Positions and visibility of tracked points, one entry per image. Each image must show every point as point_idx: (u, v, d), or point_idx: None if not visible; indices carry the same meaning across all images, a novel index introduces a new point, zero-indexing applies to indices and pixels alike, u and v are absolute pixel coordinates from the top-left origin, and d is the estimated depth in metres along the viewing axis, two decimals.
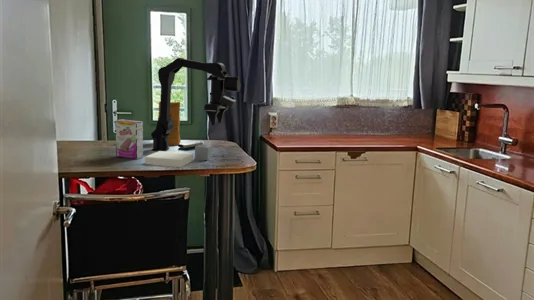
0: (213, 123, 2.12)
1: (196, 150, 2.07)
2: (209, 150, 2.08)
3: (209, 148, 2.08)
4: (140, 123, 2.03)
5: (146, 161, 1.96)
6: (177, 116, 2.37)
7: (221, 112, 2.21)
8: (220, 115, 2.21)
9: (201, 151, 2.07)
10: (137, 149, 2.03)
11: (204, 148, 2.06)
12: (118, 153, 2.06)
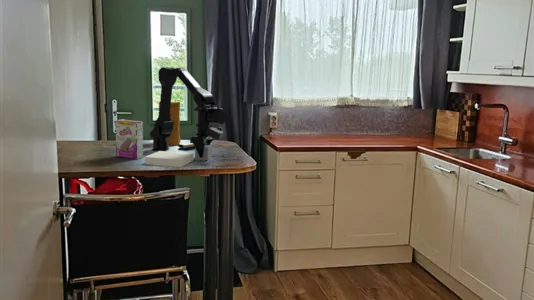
0: (201, 155, 2.07)
1: (196, 150, 2.07)
2: (209, 150, 2.08)
3: (209, 148, 2.08)
4: (140, 123, 2.03)
5: (146, 161, 1.96)
6: (177, 116, 2.37)
7: (207, 144, 2.13)
8: None
9: None
10: (137, 149, 2.03)
11: (204, 148, 2.06)
12: (118, 153, 2.06)
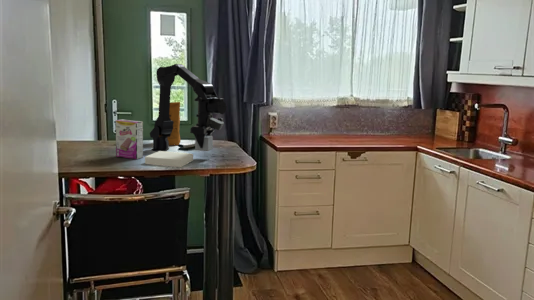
0: (201, 145, 2.06)
1: (196, 140, 2.06)
2: (209, 140, 2.07)
3: (209, 138, 2.07)
4: (140, 123, 2.03)
5: (146, 161, 1.96)
6: (177, 116, 2.37)
7: (208, 134, 2.12)
8: None
9: None
10: (137, 149, 2.03)
11: (204, 138, 2.05)
12: (118, 153, 2.06)
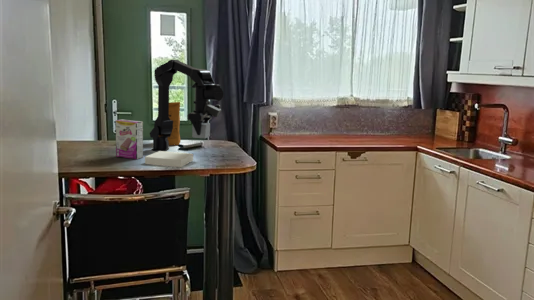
0: (198, 132, 2.04)
1: (193, 127, 2.05)
2: (207, 127, 2.06)
3: (207, 125, 2.05)
4: (140, 123, 2.03)
5: (146, 161, 1.96)
6: (177, 116, 2.37)
7: (205, 122, 2.10)
8: None
9: None
10: (137, 149, 2.03)
11: (202, 125, 2.04)
12: (118, 153, 2.06)
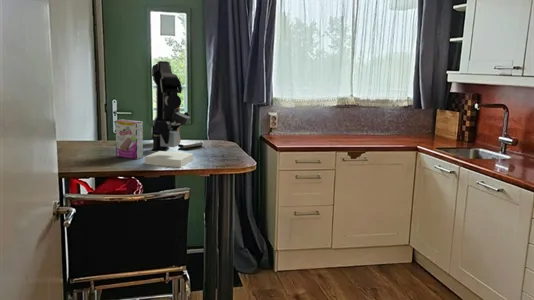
0: (166, 141, 1.96)
1: (161, 136, 1.97)
2: (175, 136, 1.98)
3: (175, 134, 1.97)
4: (140, 123, 2.03)
5: (146, 161, 1.96)
6: None
7: (174, 129, 2.02)
8: None
9: None
10: (137, 149, 2.03)
11: (170, 134, 1.96)
12: (118, 153, 2.06)
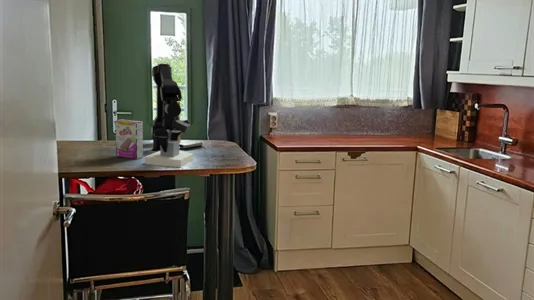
0: (165, 149, 1.95)
1: None
2: (175, 146, 1.98)
3: (175, 144, 1.98)
4: (140, 123, 2.03)
5: (146, 161, 1.96)
6: None
7: (175, 137, 2.04)
8: (174, 140, 2.04)
9: None
10: (137, 149, 2.03)
11: (170, 144, 1.96)
12: (118, 153, 2.06)
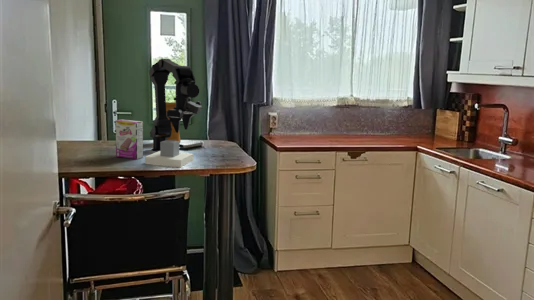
0: (177, 130, 2.00)
1: (161, 146, 1.97)
2: (175, 146, 1.98)
3: (175, 144, 1.98)
4: (140, 123, 2.03)
5: (146, 161, 1.96)
6: None
7: (187, 118, 2.09)
8: (186, 121, 2.09)
9: (166, 146, 1.97)
10: (137, 149, 2.03)
11: (170, 144, 1.96)
12: (118, 153, 2.06)
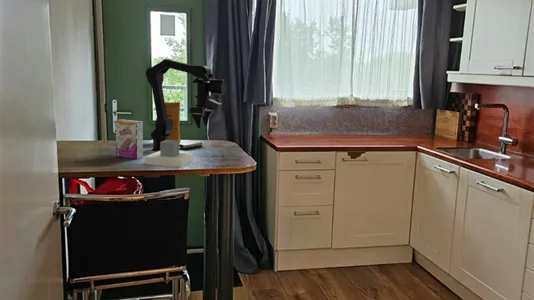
0: (198, 126, 2.12)
1: (161, 146, 1.97)
2: (175, 146, 1.98)
3: (175, 144, 1.98)
4: (140, 123, 2.03)
5: (146, 161, 1.96)
6: (177, 116, 2.37)
7: (207, 115, 2.21)
8: (206, 118, 2.21)
9: (166, 146, 1.97)
10: (137, 149, 2.03)
11: (170, 144, 1.96)
12: (118, 153, 2.06)
